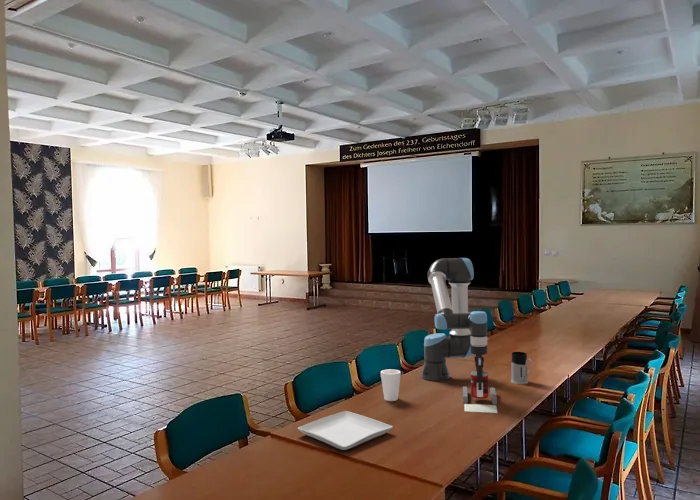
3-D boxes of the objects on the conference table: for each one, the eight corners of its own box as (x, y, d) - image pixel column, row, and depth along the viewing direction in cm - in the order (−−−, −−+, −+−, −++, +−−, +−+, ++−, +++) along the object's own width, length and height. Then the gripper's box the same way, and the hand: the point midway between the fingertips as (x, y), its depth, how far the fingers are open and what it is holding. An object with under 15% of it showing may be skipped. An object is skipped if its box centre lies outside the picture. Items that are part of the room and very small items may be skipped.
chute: (463, 411, 229) (463, 404, 229) (462, 392, 257) (462, 386, 257) (498, 413, 226) (498, 406, 226) (494, 393, 254) (494, 387, 254)
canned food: (475, 392, 249) (475, 369, 249) (491, 395, 244) (490, 372, 244) (468, 396, 243) (467, 373, 243) (484, 400, 238) (483, 376, 238)
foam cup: (384, 403, 243) (384, 375, 243) (378, 397, 252) (378, 370, 252) (404, 400, 246) (403, 373, 245) (397, 395, 255) (396, 368, 254)
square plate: (296, 436, 206) (296, 426, 205) (346, 418, 225) (345, 409, 225) (344, 456, 186) (344, 445, 186) (394, 434, 206) (394, 424, 205)
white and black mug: (520, 378, 279) (520, 350, 279) (539, 385, 266) (539, 356, 266) (507, 380, 276) (506, 352, 276) (525, 387, 263) (525, 358, 262)
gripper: (488, 350, 232) (489, 401, 232) (486, 340, 252) (486, 387, 253) (471, 349, 233) (471, 400, 234) (470, 340, 254) (470, 387, 254)
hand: (479, 393), depth 243 cm, fingers closed on canned food, 8 cm apart
